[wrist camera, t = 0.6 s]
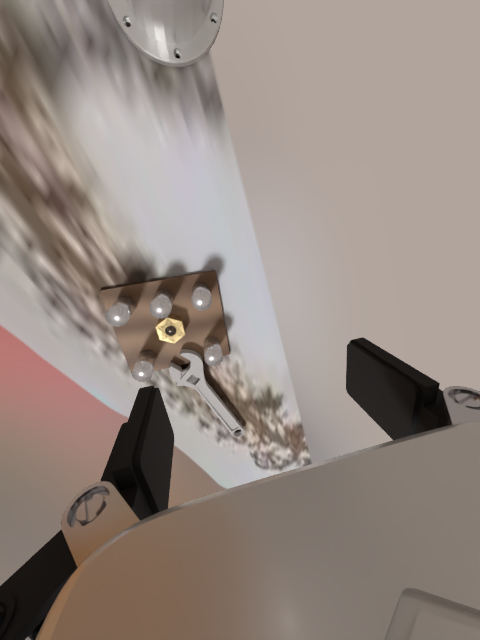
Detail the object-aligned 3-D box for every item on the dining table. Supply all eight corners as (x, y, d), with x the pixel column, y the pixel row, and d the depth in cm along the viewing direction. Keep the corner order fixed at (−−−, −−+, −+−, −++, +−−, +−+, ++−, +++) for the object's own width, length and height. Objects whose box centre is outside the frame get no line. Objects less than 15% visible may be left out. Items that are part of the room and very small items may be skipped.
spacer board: (100, 289, 36) (99, 290, 36) (215, 270, 38) (215, 270, 38) (133, 373, 43) (132, 375, 42) (229, 352, 45) (229, 354, 44)
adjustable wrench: (245, 427, 53) (246, 434, 52) (219, 439, 53) (220, 446, 52) (194, 344, 42) (194, 349, 41) (161, 359, 42) (160, 365, 41)
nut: (152, 326, 39) (150, 331, 38) (173, 308, 39) (172, 312, 37) (169, 342, 41) (169, 347, 39) (190, 325, 41) (190, 330, 39)
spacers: (112, 298, 37) (101, 309, 32) (207, 281, 38) (210, 289, 34) (138, 366, 42) (132, 384, 37) (220, 349, 44) (224, 363, 39)
